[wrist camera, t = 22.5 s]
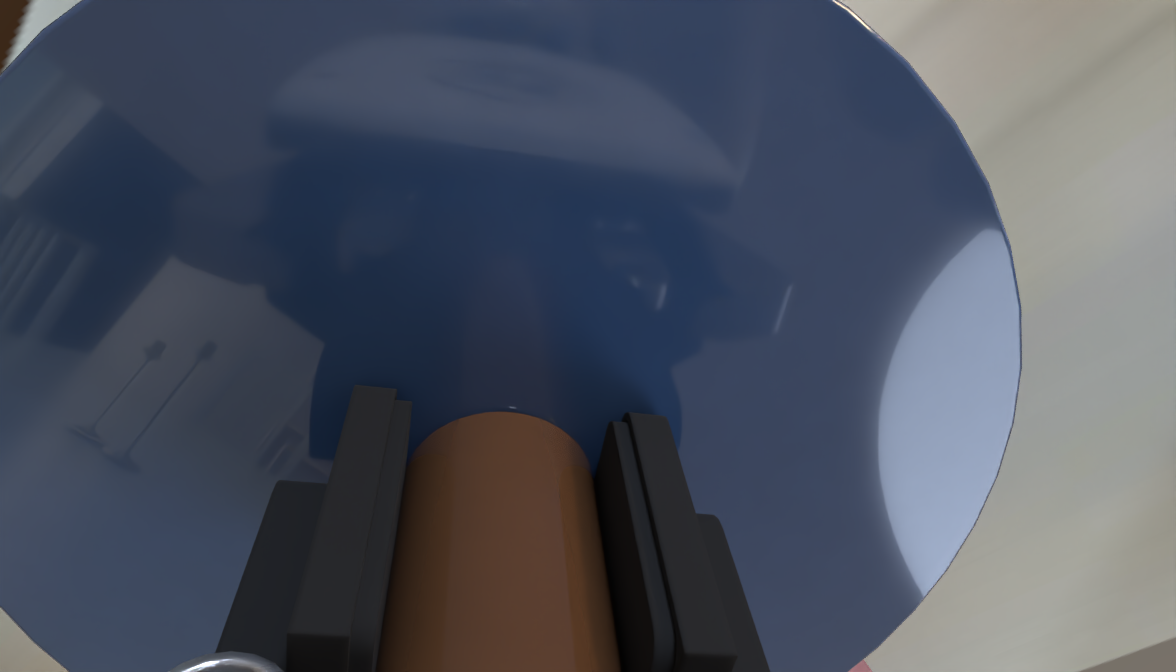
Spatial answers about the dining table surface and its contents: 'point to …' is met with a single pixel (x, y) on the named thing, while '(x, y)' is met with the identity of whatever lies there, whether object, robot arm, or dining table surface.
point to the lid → (489, 312)
